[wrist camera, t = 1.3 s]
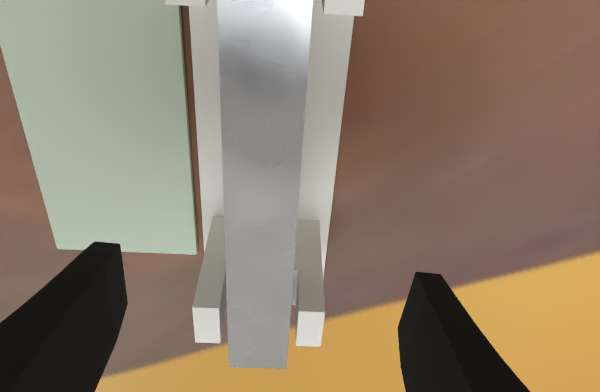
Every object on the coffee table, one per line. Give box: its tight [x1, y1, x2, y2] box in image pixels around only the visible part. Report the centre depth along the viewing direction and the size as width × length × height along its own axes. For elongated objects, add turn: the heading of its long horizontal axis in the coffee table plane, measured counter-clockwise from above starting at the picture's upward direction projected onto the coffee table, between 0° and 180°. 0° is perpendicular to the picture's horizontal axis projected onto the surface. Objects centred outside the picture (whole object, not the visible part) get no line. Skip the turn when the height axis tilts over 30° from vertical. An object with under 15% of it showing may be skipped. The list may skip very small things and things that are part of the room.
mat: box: [0, 0, 198, 255], centre depth 21 cm, size 7×17×1 cm, turn 177°
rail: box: [217, 0, 313, 369], centre depth 17 cm, size 2×18×2 cm, turn 176°
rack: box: [165, 0, 365, 346], centre depth 19 cm, size 6×19×7 cm, turn 177°
